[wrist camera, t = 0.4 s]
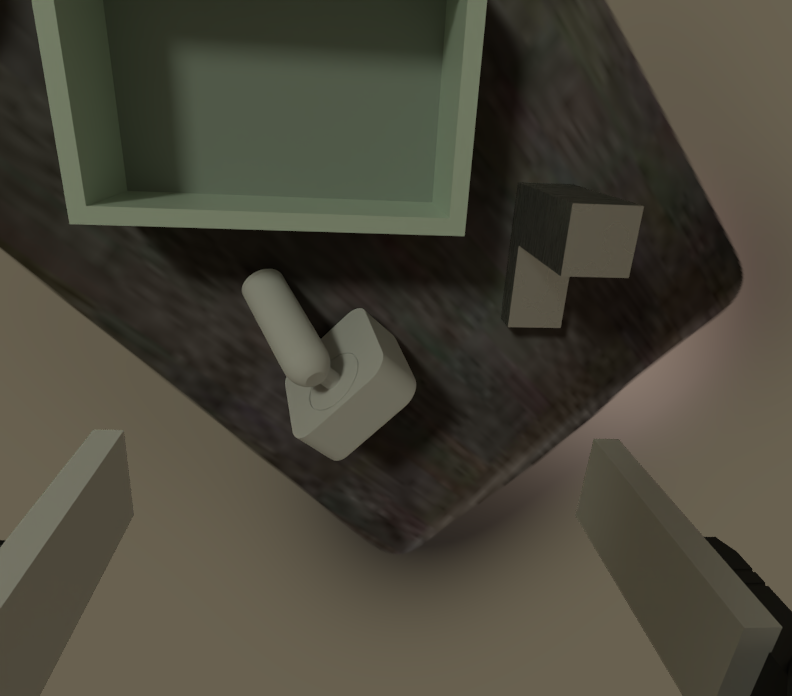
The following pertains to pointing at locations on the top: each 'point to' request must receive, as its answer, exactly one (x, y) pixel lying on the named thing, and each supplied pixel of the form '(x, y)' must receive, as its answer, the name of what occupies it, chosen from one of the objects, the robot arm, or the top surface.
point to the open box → (265, 112)
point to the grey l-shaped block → (563, 248)
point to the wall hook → (331, 368)
